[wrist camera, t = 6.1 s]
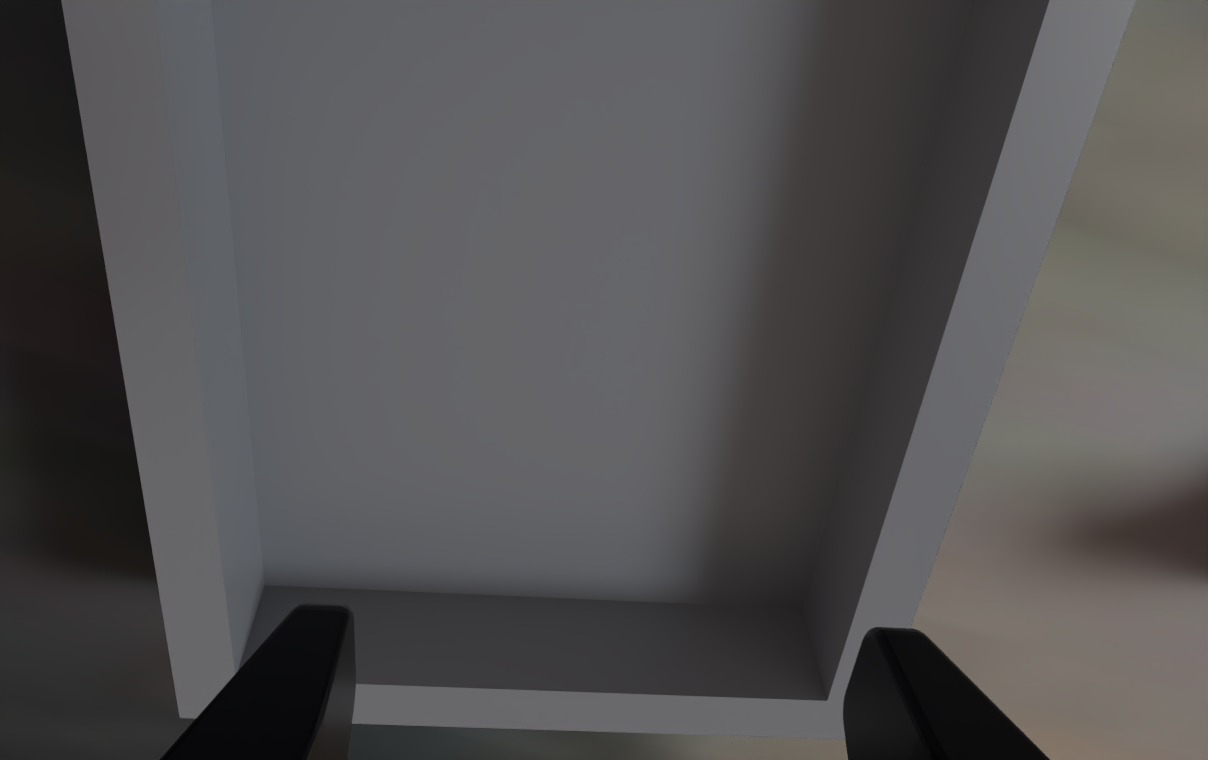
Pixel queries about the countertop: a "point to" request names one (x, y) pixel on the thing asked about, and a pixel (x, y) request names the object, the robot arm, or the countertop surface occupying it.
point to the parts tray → (570, 329)
